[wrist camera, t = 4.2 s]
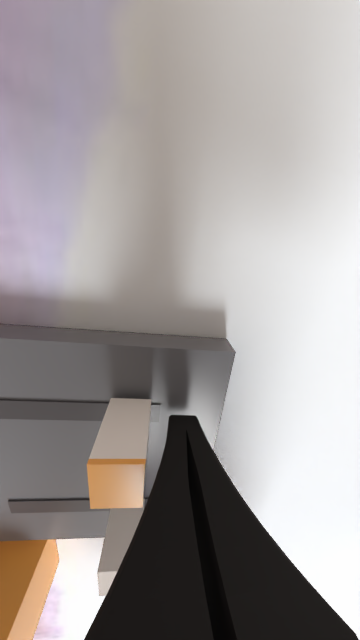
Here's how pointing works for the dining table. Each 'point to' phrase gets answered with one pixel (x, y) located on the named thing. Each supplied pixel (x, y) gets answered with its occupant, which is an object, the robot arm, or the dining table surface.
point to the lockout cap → (24, 585)
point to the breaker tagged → (120, 455)
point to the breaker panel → (90, 415)
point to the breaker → (116, 543)
